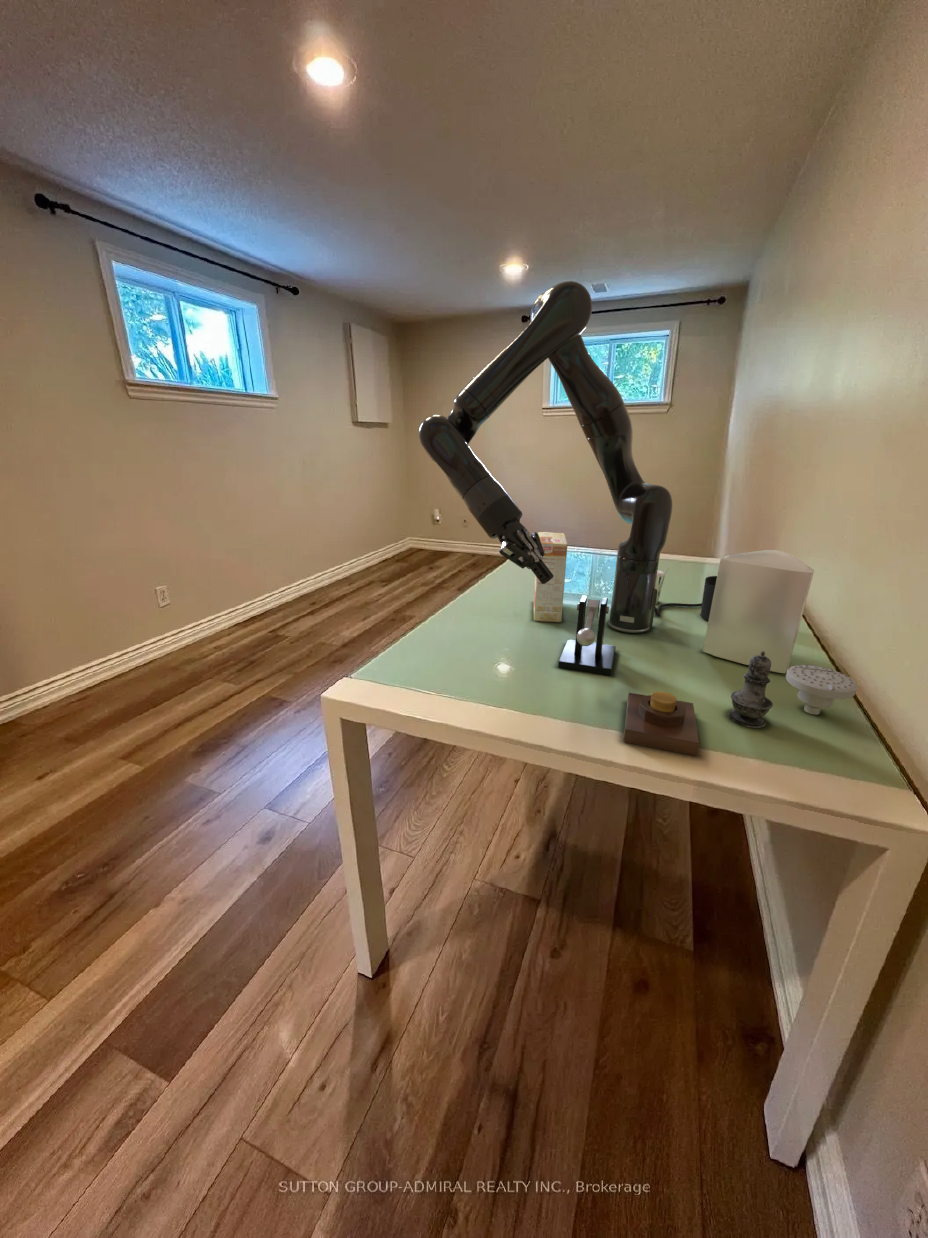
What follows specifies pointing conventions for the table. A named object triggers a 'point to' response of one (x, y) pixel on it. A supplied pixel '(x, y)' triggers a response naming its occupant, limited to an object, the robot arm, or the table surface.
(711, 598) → the pen holder
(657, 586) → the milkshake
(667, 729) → the button block
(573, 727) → the table surface
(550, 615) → the coffeecake box
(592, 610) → the lever
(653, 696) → the button
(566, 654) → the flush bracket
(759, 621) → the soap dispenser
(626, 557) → the robot arm
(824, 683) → the showerhead
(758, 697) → the salt shaker
